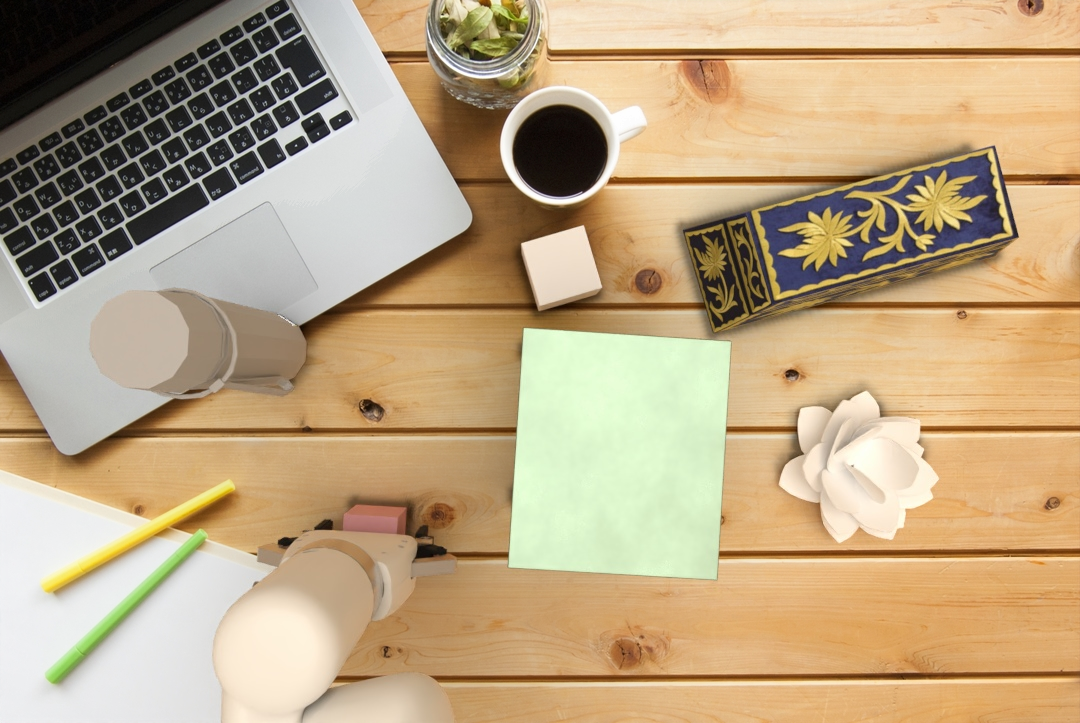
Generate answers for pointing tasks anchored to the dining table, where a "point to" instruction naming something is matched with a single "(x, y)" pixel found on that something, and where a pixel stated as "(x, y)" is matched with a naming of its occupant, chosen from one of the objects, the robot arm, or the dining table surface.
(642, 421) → the pale green block
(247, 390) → the water bottle
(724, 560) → the dining table surface
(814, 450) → the lotus flower
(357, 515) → the pink box
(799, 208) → the decorative box
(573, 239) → the pale peach cube
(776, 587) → the dining table surface
